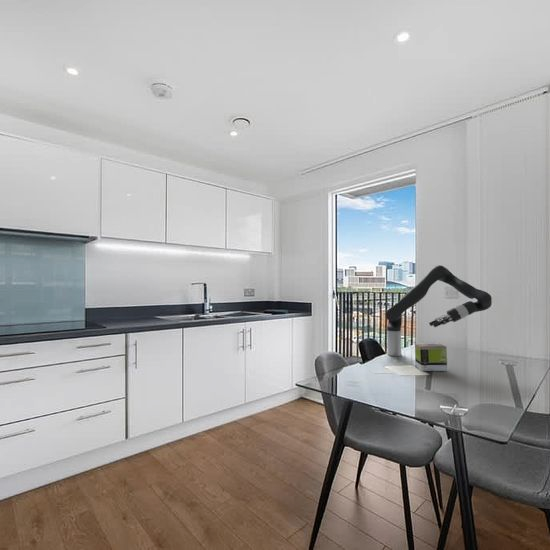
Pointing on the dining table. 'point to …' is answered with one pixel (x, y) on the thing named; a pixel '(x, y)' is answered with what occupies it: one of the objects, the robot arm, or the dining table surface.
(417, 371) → the T mat
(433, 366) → the tea box
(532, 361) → the dining table surface
